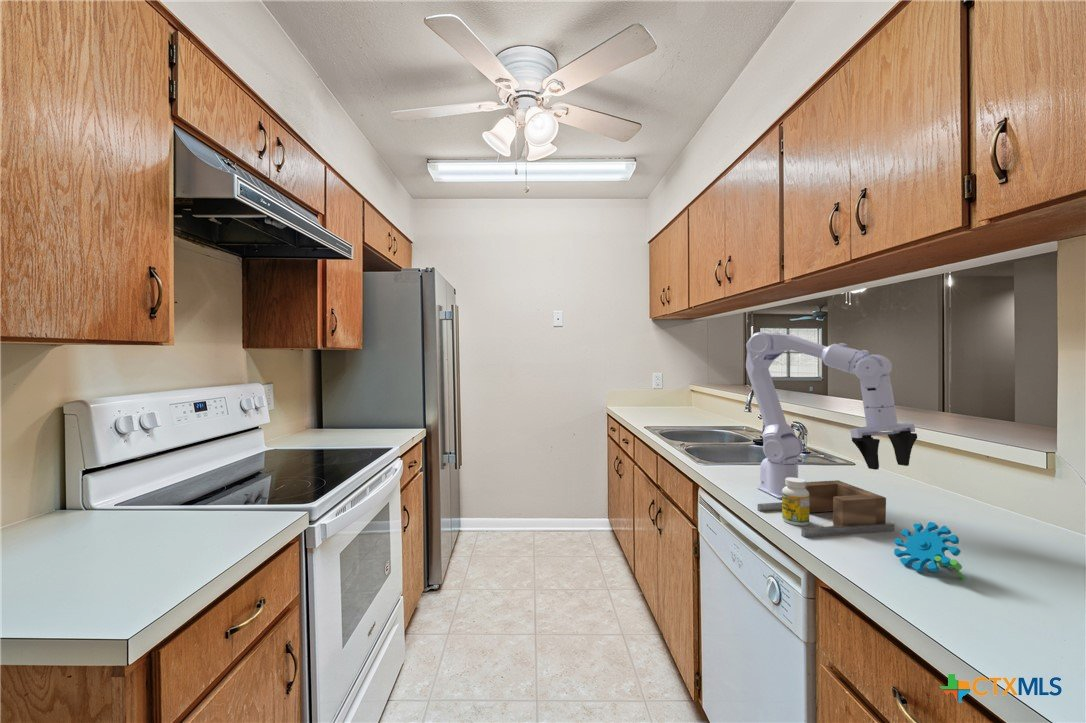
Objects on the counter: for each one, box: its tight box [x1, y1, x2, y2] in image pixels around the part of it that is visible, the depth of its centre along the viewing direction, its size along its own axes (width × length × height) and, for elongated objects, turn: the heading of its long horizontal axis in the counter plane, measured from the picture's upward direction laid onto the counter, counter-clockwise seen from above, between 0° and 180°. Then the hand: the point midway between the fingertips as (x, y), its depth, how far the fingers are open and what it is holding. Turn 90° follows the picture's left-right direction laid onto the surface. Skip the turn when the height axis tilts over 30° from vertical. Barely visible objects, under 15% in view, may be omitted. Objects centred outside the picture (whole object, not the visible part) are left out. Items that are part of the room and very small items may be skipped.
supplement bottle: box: [781, 477, 810, 527], centre depth 100 cm, size 5×5×10 cm
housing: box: [804, 479, 887, 526], centre depth 101 cm, size 13×10×6 cm
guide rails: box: [757, 501, 895, 538], centre depth 101 cm, size 16×21×2 cm
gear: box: [893, 521, 966, 581], centre depth 78 cm, size 11×6×10 cm
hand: (888, 467), depth 99 cm, fingers open, 7 cm apart
